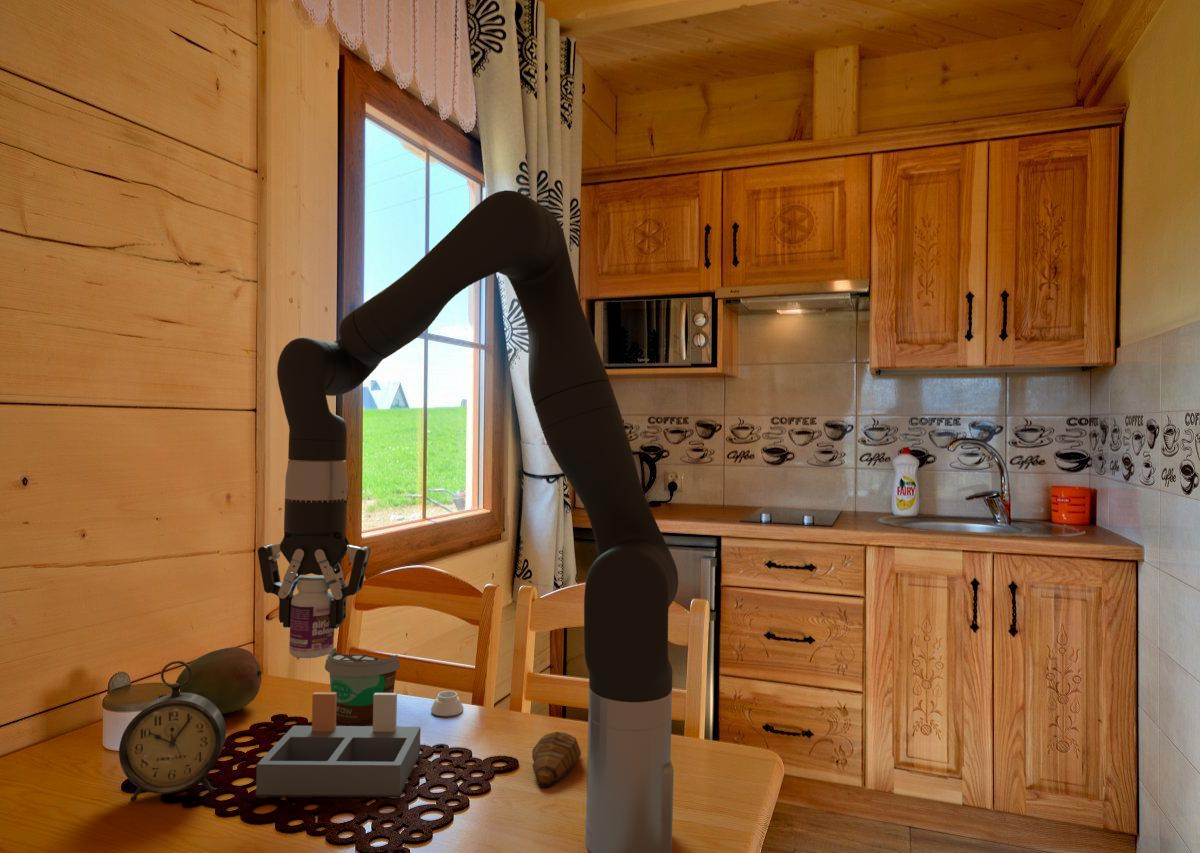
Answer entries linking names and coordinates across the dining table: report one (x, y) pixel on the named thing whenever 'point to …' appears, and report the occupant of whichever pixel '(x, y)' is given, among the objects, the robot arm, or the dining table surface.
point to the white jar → (447, 704)
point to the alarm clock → (172, 742)
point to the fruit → (224, 678)
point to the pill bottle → (311, 619)
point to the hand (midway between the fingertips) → (312, 626)
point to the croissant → (554, 757)
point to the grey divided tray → (341, 755)
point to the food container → (359, 684)
